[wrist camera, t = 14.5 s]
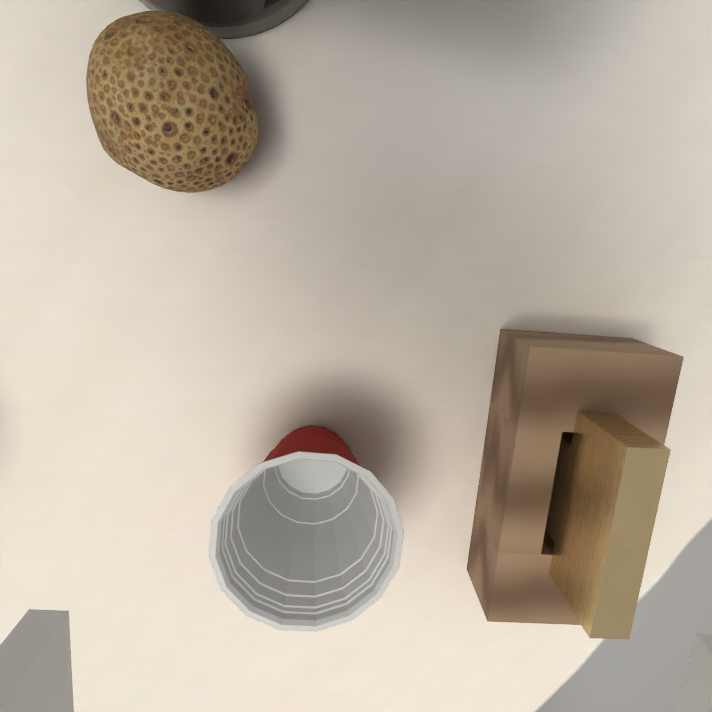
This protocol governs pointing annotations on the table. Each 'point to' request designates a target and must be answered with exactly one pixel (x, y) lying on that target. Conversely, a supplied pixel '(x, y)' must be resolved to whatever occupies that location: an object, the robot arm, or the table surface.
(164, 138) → the natural sponge
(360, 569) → the plastic cup
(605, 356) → the slotted block
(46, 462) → the table surface
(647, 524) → the light wooden block
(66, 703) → the robot arm
